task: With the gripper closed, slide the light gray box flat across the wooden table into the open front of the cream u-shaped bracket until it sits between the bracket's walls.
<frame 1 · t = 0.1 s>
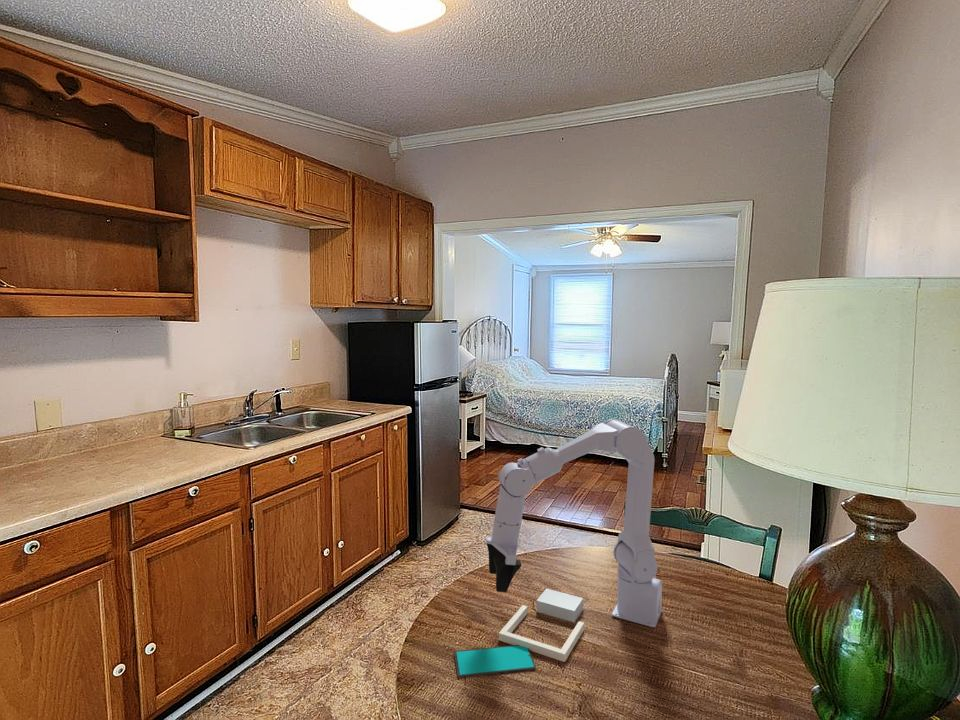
hand: (497, 581, 113), 11 cm above the table, tool pointing down, fingers open, 7 cm apart
light gray box: (559, 611, 121), on the table
cream u-shaped bracket: (543, 633, 112), on the table
smartphone: (494, 664, 104), on the table
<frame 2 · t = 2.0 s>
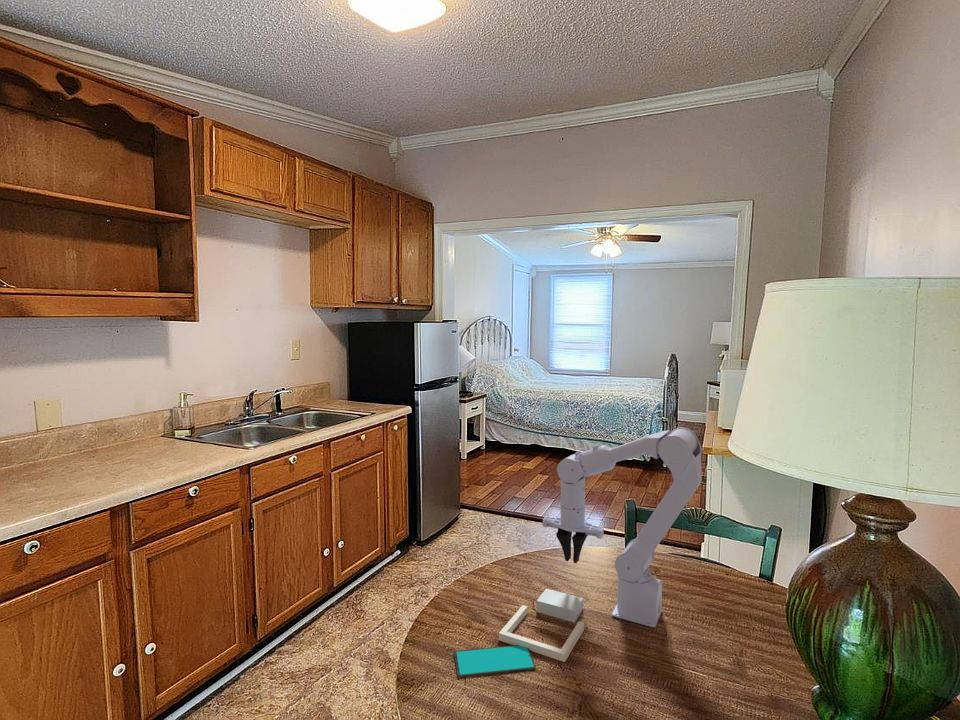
hand: (572, 560, 127), 8 cm above the table, tool pointing down, fingers closed
nothing on the table moved.
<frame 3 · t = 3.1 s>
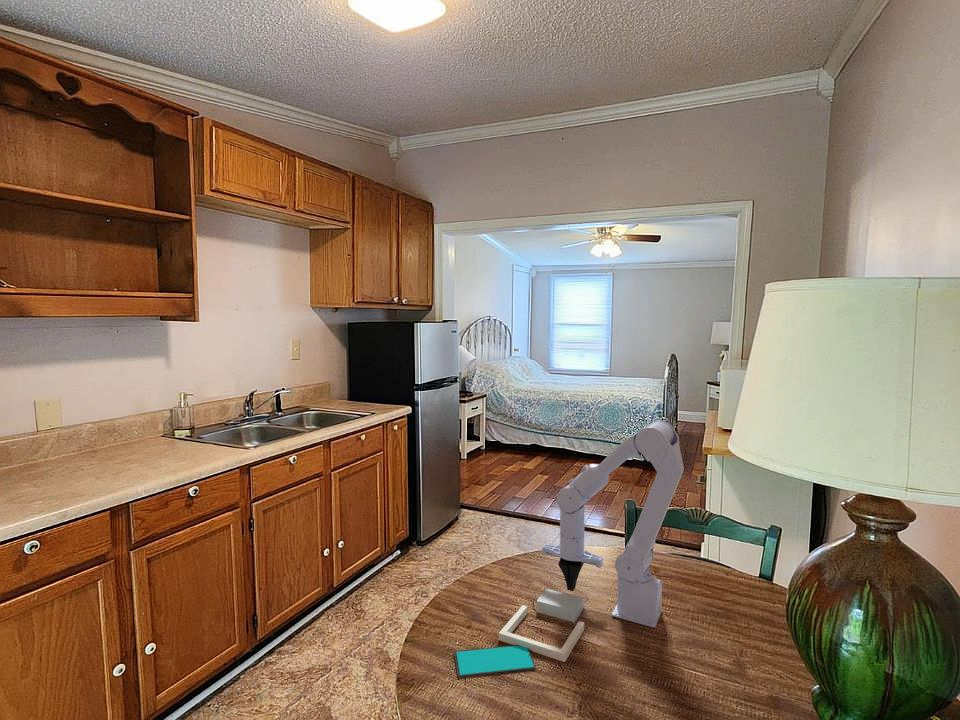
hand: (571, 588, 128), 1 cm above the table, tool pointing down, fingers closed
nothing on the table moved.
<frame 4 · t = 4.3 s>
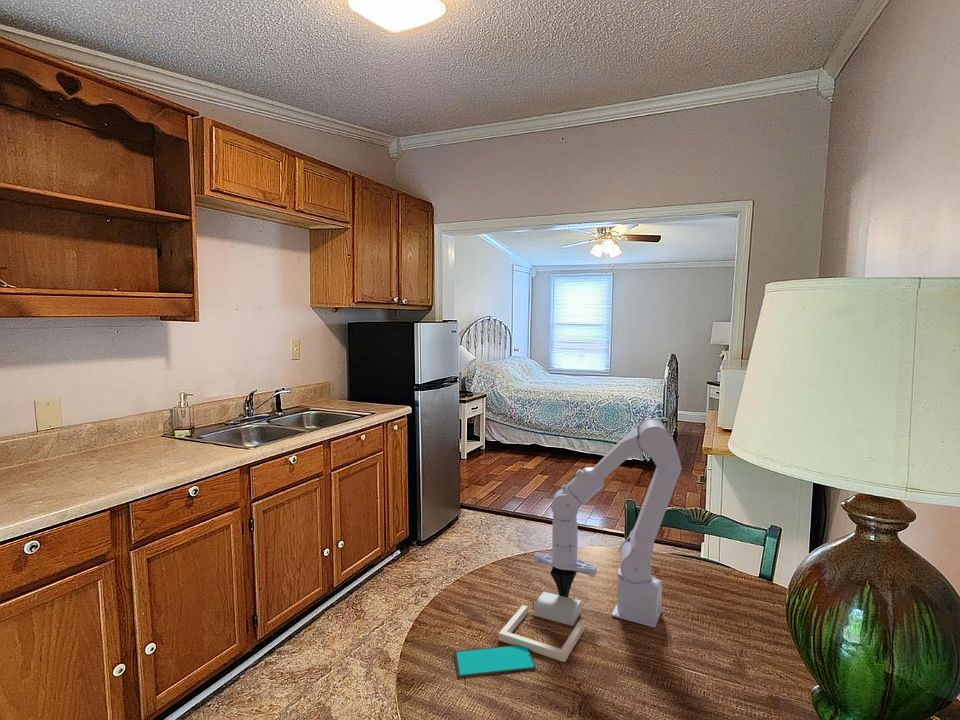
hand: (564, 598, 123), 1 cm above the table, tool pointing down, fingers closed
light gray box: (557, 615, 120), on the table
everything else where it was.
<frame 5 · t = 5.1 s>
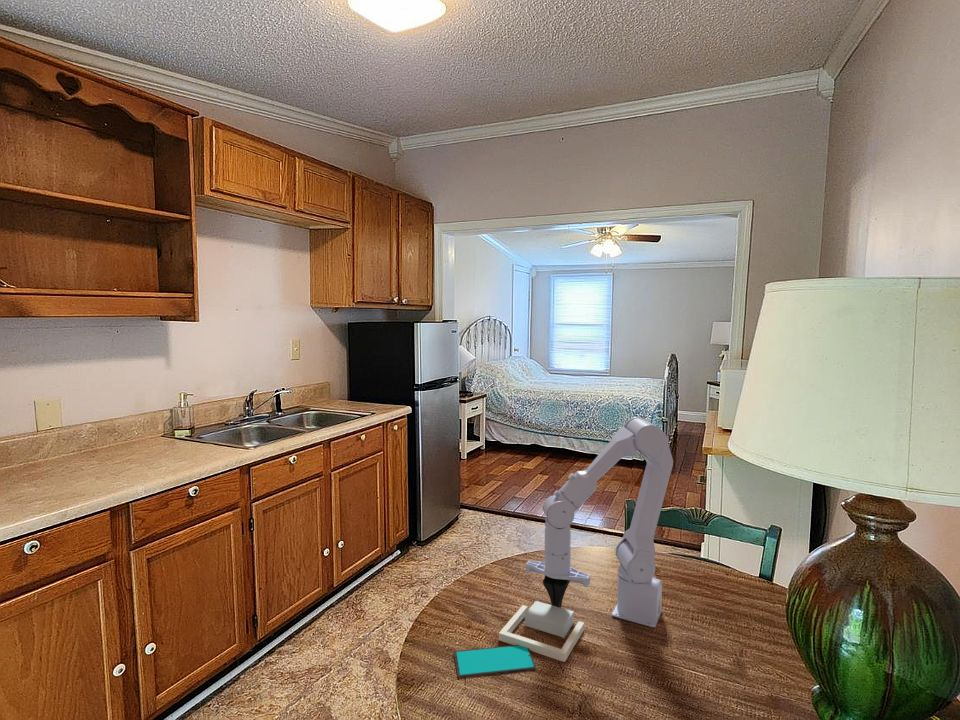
hand: (556, 608, 119), 1 cm above the table, tool pointing down, fingers closed
light gray box: (549, 625, 116), on the table, touching gripper
everything else where it was.
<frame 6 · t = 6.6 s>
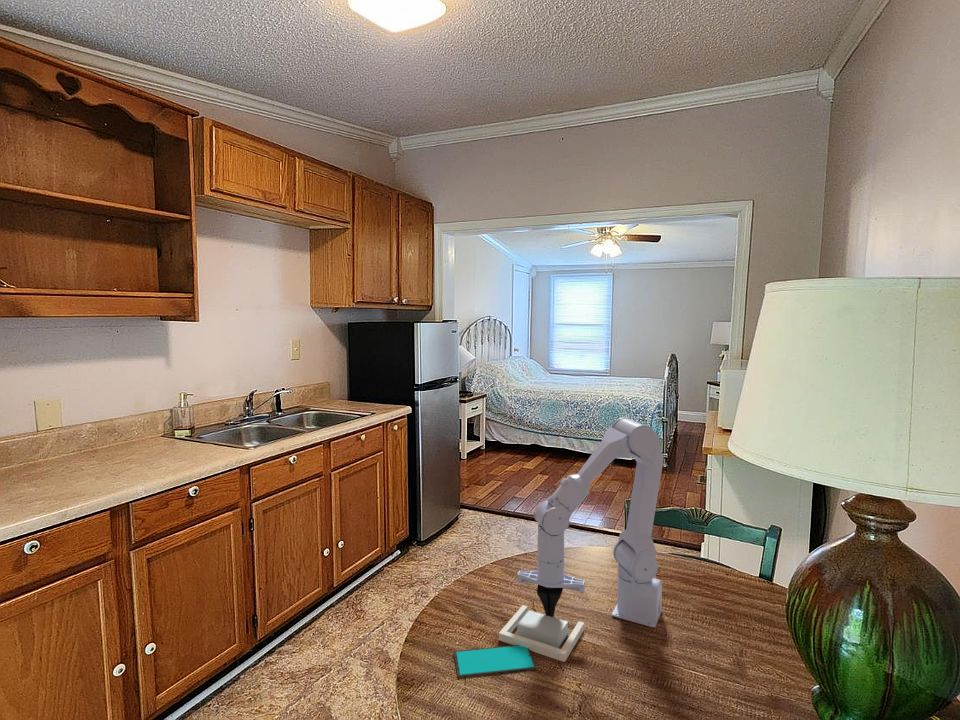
hand: (550, 617, 116), 1 cm above the table, tool pointing down, fingers closed
light gray box: (542, 636, 112), on the table
everything else where it was.
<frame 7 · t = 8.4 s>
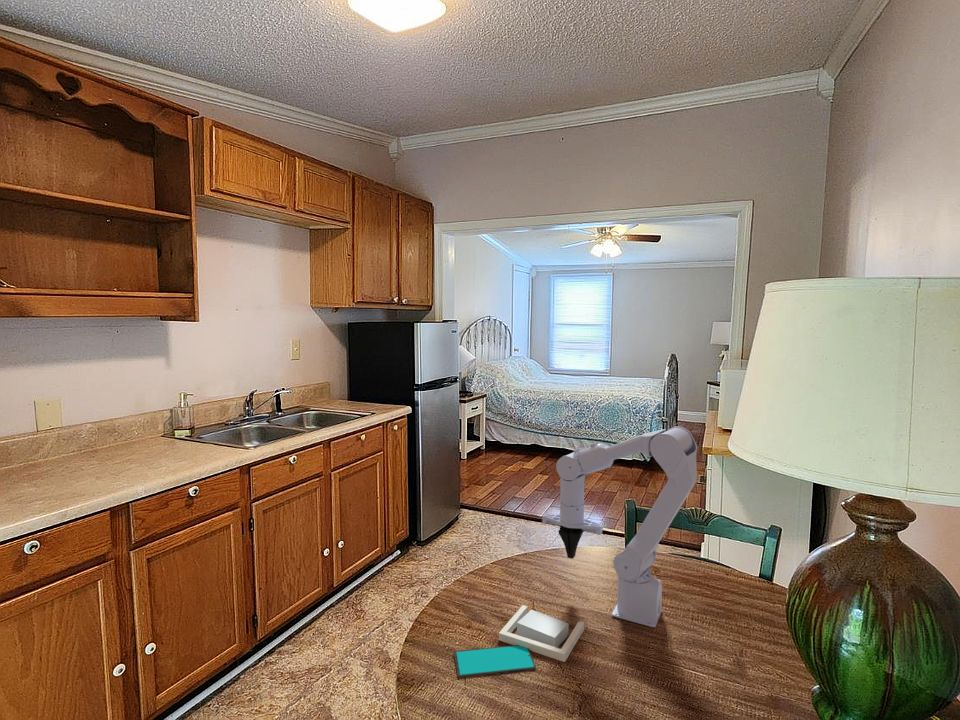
hand: (571, 556, 129), 8 cm above the table, tool pointing down, fingers closed
nothing on the table moved.
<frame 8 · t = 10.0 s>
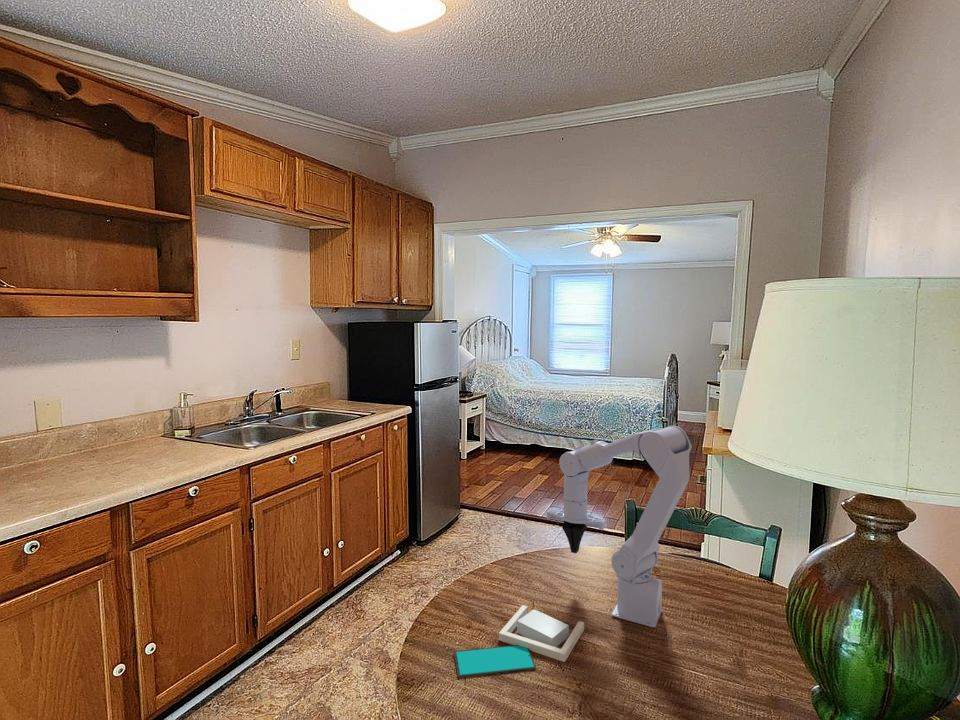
hand: (574, 551, 132), 8 cm above the table, tool pointing down, fingers closed
nothing on the table moved.
at the end: light gray box 1.0 cm off-centre on the cream u-shaped bracket, point 0.0 cm above the cream u-shaped bracket's base; light gray box tilted 0°; light gray box moved 10.5 cm from its start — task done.
